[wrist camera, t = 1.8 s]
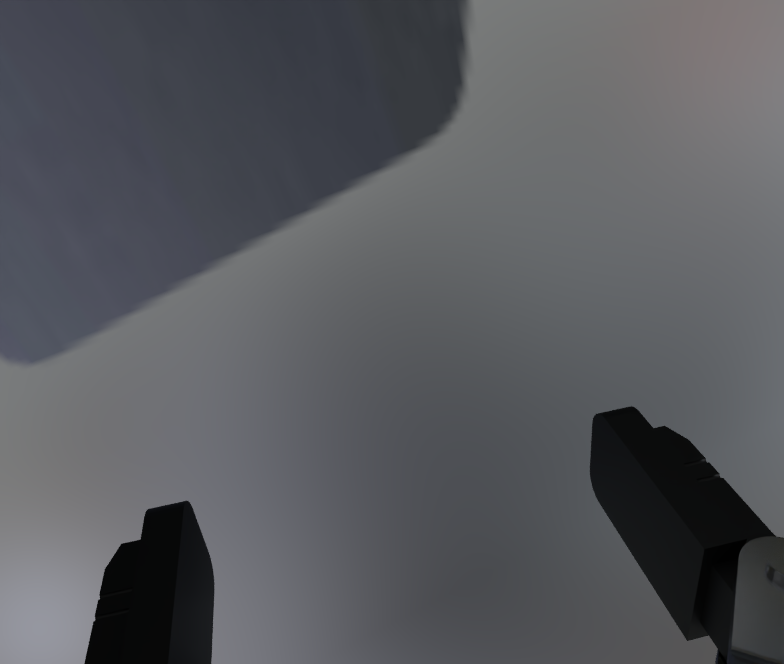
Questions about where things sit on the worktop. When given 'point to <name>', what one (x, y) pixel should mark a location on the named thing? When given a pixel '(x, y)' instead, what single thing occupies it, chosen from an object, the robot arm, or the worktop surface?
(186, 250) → the worktop surface
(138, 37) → the worktop surface
